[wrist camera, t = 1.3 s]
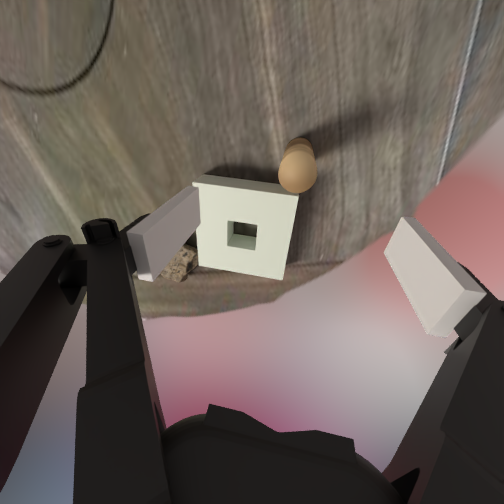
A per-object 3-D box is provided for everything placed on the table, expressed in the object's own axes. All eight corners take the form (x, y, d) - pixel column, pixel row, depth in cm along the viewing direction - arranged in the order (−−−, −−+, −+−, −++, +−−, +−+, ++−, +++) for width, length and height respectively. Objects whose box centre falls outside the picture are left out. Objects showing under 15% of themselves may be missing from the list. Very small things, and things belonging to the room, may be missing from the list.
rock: (160, 217, 45) (147, 227, 41) (207, 248, 47) (200, 261, 43) (144, 250, 50) (132, 261, 47) (187, 277, 53) (178, 290, 49)
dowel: (287, 135, 33) (281, 151, 23) (315, 138, 32) (321, 156, 22) (283, 164, 35) (275, 190, 25) (309, 168, 34) (312, 195, 25)
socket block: (203, 174, 38) (192, 182, 34) (299, 186, 36) (298, 196, 33) (206, 252, 47) (198, 265, 43) (283, 265, 45) (282, 280, 42)
